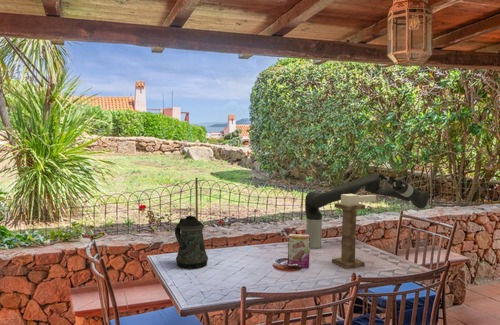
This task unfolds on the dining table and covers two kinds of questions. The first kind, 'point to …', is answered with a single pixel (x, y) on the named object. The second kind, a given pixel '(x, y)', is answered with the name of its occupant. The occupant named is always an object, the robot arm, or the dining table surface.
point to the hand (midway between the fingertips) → (384, 176)
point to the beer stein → (190, 244)
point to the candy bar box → (299, 249)
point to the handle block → (356, 199)
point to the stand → (348, 237)
